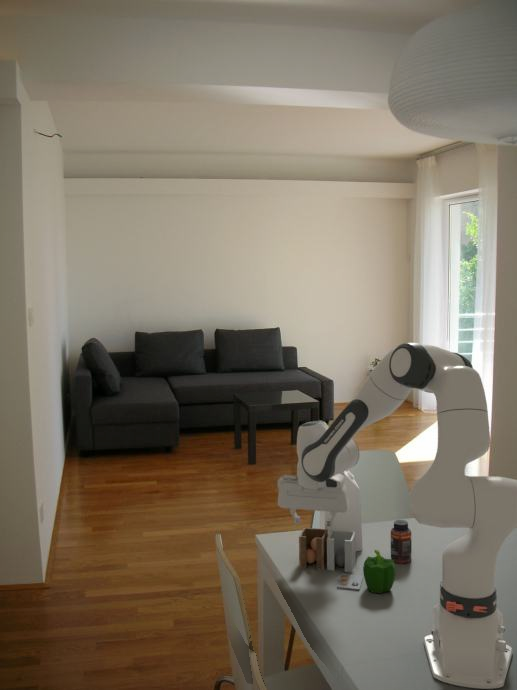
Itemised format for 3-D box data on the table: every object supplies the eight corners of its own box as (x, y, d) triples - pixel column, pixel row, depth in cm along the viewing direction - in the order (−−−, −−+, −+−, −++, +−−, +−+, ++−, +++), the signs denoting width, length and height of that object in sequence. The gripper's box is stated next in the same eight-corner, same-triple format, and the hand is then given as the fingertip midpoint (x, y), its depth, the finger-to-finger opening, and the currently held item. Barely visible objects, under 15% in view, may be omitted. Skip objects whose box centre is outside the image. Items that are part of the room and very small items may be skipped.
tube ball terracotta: (318, 561, 200) (311, 549, 201) (306, 567, 201) (299, 554, 202) (321, 557, 204) (314, 544, 204) (309, 562, 205) (302, 550, 205)
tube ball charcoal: (347, 569, 198) (347, 555, 197) (333, 568, 199) (333, 554, 199) (349, 563, 202) (349, 550, 201) (335, 562, 203) (335, 549, 202)
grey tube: (352, 572, 196) (351, 541, 195) (327, 569, 198) (326, 539, 197) (355, 562, 203) (355, 531, 202) (331, 559, 205) (331, 529, 204)
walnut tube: (323, 569, 198) (323, 538, 197) (299, 567, 200) (298, 536, 199) (328, 559, 205) (327, 529, 204) (304, 557, 207) (304, 527, 206)
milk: (319, 536, 222) (318, 456, 219) (355, 535, 223) (355, 455, 220) (324, 552, 210) (323, 467, 207) (362, 550, 211) (362, 466, 208)
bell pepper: (394, 598, 181) (394, 560, 179) (362, 595, 183) (361, 558, 182) (396, 583, 189) (396, 547, 188) (365, 581, 191) (365, 545, 190)
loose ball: (310, 552, 201) (324, 552, 200) (310, 537, 201) (324, 538, 201) (311, 550, 205) (325, 551, 204) (311, 536, 205) (325, 536, 205)
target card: (359, 590, 185) (359, 588, 185) (336, 588, 187) (336, 586, 187) (363, 577, 193) (363, 575, 193) (341, 575, 194) (341, 573, 194)
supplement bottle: (415, 559, 204) (415, 521, 202) (404, 566, 199) (404, 527, 198) (397, 553, 208) (397, 516, 207) (386, 560, 204) (386, 522, 202)
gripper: (274, 478, 200) (275, 525, 201) (346, 482, 194) (346, 531, 195) (280, 471, 206) (280, 517, 207) (349, 476, 200) (350, 523, 201)
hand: (313, 524), depth 201 cm, fingers open, 8 cm apart
